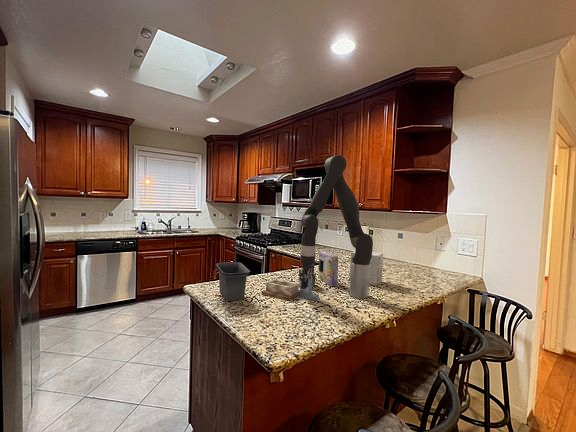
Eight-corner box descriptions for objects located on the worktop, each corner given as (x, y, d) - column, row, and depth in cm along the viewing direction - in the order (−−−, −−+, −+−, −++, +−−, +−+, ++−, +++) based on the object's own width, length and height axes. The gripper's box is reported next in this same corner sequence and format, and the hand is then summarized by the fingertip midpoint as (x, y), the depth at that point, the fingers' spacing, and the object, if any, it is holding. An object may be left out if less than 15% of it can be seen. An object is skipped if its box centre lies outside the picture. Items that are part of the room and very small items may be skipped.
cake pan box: (316, 277, 187) (318, 250, 186) (324, 277, 189) (325, 250, 188) (330, 286, 169) (331, 256, 168) (337, 286, 171) (339, 256, 170)
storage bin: (251, 301, 139) (252, 271, 138) (218, 304, 133) (219, 273, 132) (239, 288, 158) (240, 261, 158) (209, 290, 152) (210, 263, 151)
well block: (301, 293, 155) (302, 282, 155) (289, 300, 143) (289, 289, 142) (275, 287, 162) (276, 277, 162) (261, 294, 150) (262, 283, 150)
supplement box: (382, 281, 187) (384, 253, 186) (376, 286, 176) (378, 256, 175) (355, 276, 196) (357, 249, 195) (348, 280, 185) (350, 252, 184)
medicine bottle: (309, 287, 165) (310, 266, 164) (298, 285, 169) (299, 264, 168) (315, 285, 171) (316, 264, 171) (304, 282, 175) (305, 262, 174)
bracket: (318, 298, 148) (319, 278, 147) (316, 300, 145) (317, 280, 144) (302, 294, 152) (303, 275, 152) (299, 296, 149) (300, 277, 149)
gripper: (308, 257, 140) (306, 292, 141) (320, 253, 153) (318, 285, 154) (294, 255, 144) (292, 289, 145) (307, 251, 156) (305, 282, 157)
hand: (306, 287), depth 149 cm, fingers open, 5 cm apart
